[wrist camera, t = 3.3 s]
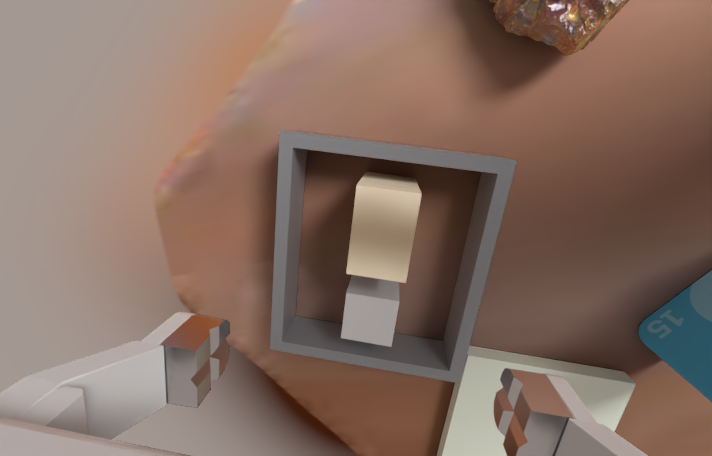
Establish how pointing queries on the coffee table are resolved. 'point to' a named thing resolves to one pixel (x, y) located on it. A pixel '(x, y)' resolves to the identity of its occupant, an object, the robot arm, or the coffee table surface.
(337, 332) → the bin
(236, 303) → the coffee table surface
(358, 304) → the grey box
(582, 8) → the mineral specimen
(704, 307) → the data package
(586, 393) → the board
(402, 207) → the birch box
